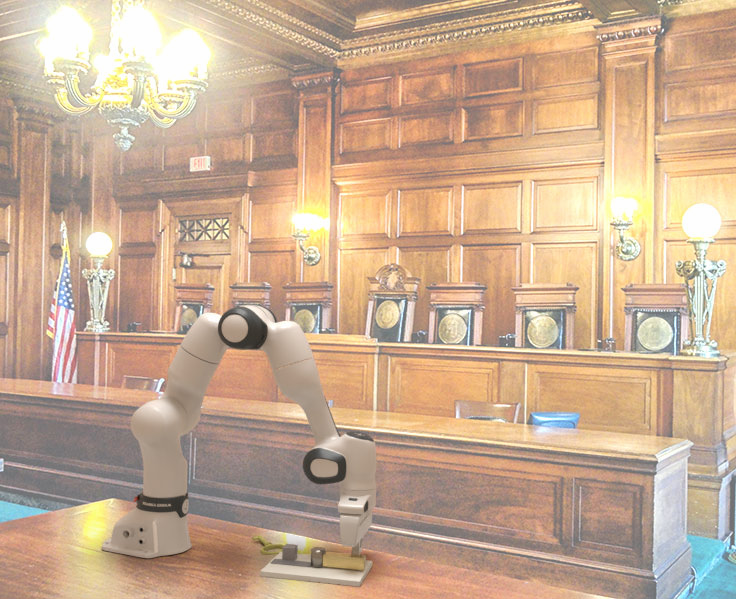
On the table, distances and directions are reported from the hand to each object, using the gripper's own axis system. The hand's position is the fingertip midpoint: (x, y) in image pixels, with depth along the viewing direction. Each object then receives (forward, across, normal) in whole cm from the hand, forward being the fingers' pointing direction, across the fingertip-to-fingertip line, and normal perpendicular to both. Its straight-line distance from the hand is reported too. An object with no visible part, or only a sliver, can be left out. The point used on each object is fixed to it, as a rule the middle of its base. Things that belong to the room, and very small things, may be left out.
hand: (356, 554), depth 197 cm
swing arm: (+1, +6, -3) cm, 7 cm away
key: (+3, -7, -25) cm, 27 cm away
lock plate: (+3, +6, -8) cm, 11 cm away
